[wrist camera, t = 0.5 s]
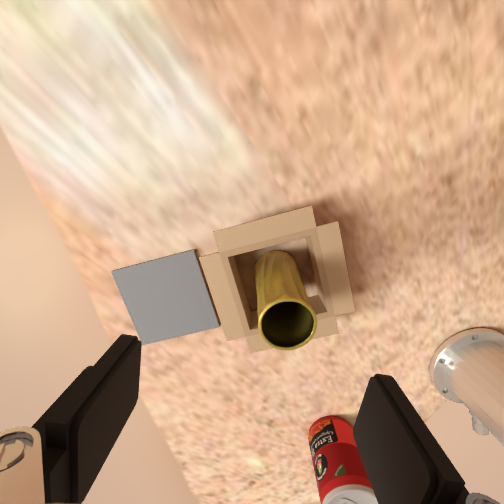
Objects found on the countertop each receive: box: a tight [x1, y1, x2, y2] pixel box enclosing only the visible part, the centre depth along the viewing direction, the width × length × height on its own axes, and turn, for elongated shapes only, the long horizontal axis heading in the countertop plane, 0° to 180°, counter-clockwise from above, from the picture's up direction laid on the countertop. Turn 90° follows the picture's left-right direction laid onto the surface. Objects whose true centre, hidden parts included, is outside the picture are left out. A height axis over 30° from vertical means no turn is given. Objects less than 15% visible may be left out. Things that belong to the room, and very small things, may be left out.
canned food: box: [308, 416, 378, 504], centre depth 39 cm, size 8×8×11 cm
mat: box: [112, 249, 220, 345], centre depth 38 cm, size 12×12×1 cm
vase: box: [254, 251, 317, 350], centre depth 30 cm, size 6×6×14 cm
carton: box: [199, 206, 355, 353], centre depth 35 cm, size 17×17×5 cm
